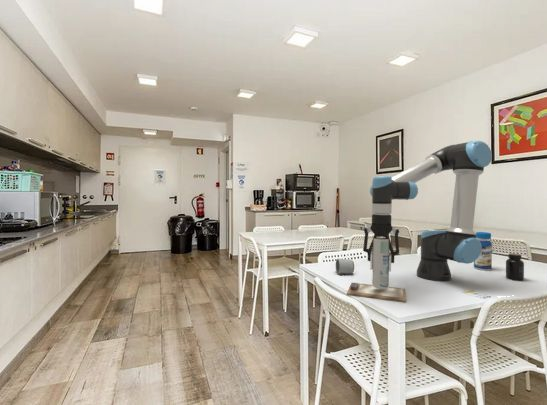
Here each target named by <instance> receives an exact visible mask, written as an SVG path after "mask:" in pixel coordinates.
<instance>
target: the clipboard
mask: <svg viewBox="0 0 547 405" xmlns="http://www.w3.org/2000/svg"><path fill="white" fill-rule="evenodd" d="M346 296H352V297H361V298H367V299H369V298H370V299H376V300H383V301H384V300H385V301H392V302H399V303H407V295H406V288H402V287H392V286H389V287H388V288H387V289H378V288H375V287H373V285H372V284H366V283H359V282H351V283H350V286H349V287H348V290H347V292H346Z"/></svg>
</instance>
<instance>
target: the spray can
mask: <svg viewBox="0 0 547 405" xmlns="http://www.w3.org/2000/svg"><path fill="white" fill-rule="evenodd" d="M372 239H373V248H372V253H373V269H372V284H371V285H373V287H375V288H378V289H387V288H388V287H390V286H389V284H390V282H389V280H390V272H389V254H390V249H389V239H390V238H389V239H386V238H385V237H377V238H376V239H375V238H373V237H372Z"/></svg>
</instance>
